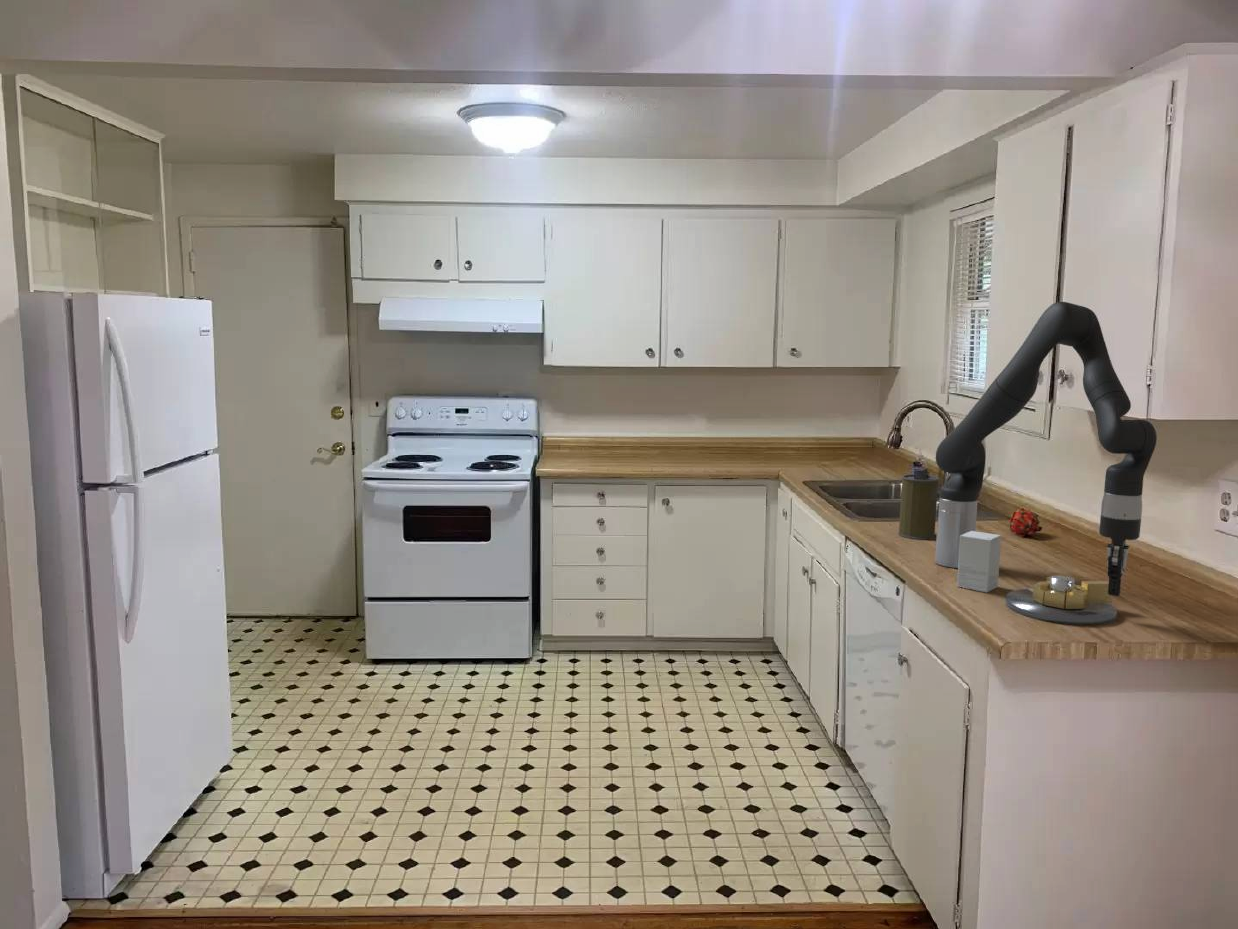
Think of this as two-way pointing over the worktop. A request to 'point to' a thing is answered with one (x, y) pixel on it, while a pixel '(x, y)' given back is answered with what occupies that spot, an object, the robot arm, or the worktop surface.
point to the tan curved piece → (1072, 594)
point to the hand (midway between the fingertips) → (1113, 594)
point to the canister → (918, 505)
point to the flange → (1086, 616)
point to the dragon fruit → (1024, 523)
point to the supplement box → (979, 561)
